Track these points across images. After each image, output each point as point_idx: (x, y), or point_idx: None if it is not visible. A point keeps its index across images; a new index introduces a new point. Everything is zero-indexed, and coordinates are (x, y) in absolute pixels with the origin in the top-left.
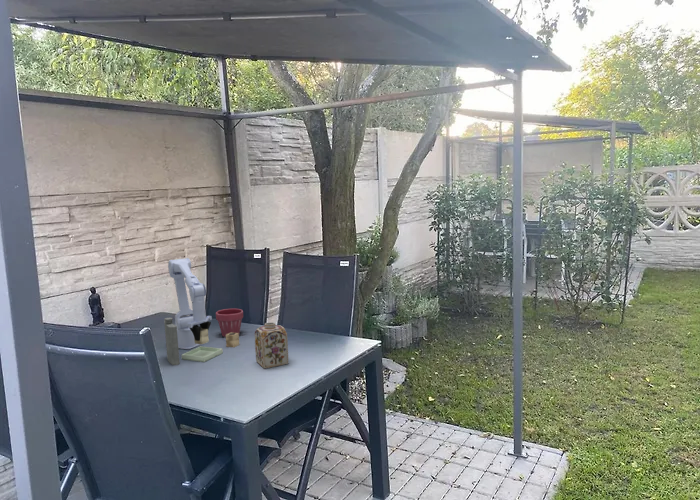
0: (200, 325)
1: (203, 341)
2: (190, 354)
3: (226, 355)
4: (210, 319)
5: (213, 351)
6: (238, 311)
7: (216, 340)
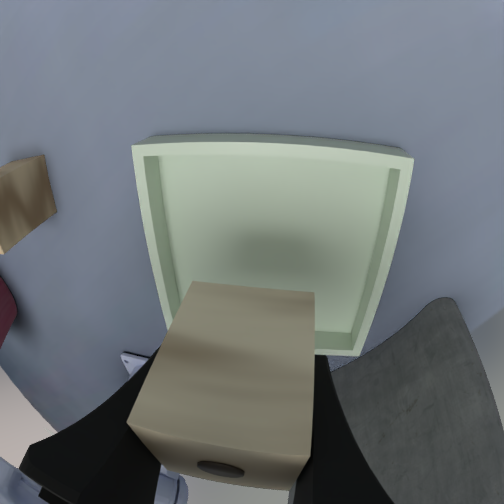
0: (152, 497)
1: (288, 311)
2: None
3: (185, 65)
4: (5, 474)
5: (167, 219)
6: None
7: (48, 311)
